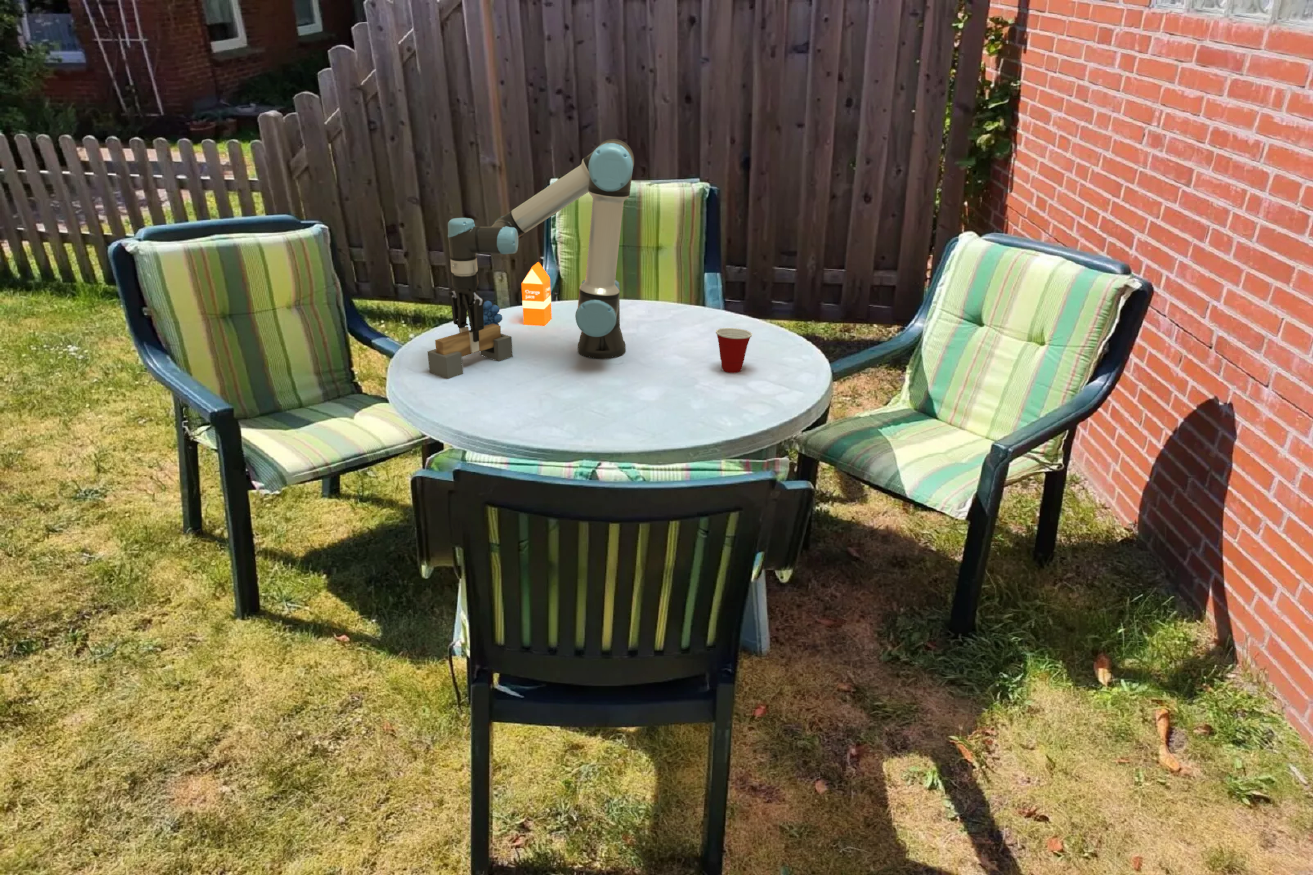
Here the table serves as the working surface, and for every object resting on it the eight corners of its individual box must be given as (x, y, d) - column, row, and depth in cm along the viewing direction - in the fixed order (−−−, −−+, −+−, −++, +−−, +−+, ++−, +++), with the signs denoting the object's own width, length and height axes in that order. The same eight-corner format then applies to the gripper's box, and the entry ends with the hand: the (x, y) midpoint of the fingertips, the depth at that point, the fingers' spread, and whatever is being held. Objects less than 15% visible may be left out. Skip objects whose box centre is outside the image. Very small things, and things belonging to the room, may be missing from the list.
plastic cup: (757, 369, 269) (760, 331, 264) (735, 378, 262) (737, 339, 257) (729, 360, 276) (731, 323, 271) (706, 369, 268) (708, 331, 263)
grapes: (508, 333, 299) (505, 298, 294) (500, 339, 293) (498, 303, 288) (475, 330, 301) (472, 295, 296) (467, 336, 295) (464, 301, 290)
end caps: (512, 356, 278) (511, 336, 275) (448, 378, 260) (446, 357, 257) (494, 350, 283) (492, 331, 280) (429, 372, 265) (427, 351, 262)
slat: (501, 344, 276) (500, 325, 274) (444, 362, 261) (442, 342, 258) (493, 342, 278) (492, 323, 276) (436, 359, 263) (435, 339, 260)
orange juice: (523, 324, 308) (520, 267, 299) (530, 317, 315) (527, 261, 307) (545, 326, 306) (542, 268, 298) (552, 318, 314) (549, 262, 306)
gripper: (435, 270, 262) (442, 347, 272) (473, 280, 252) (479, 359, 262) (456, 266, 267) (462, 341, 277) (493, 275, 258) (498, 352, 267)
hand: (470, 349), depth 269 cm, fingers closed on slat, 3 cm apart
